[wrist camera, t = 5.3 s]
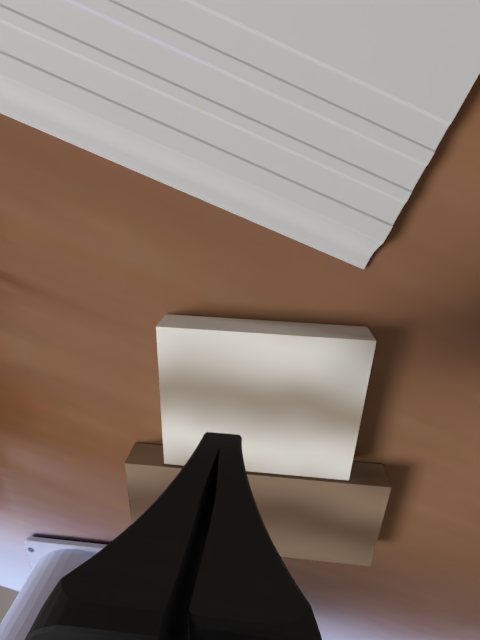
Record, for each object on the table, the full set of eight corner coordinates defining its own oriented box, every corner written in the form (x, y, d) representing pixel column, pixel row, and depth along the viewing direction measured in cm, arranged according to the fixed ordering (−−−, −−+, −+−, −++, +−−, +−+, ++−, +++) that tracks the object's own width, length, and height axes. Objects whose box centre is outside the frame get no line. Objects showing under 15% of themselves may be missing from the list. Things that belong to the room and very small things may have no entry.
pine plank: (342, 457, 22) (348, 480, 20) (172, 442, 23) (164, 463, 21) (366, 326, 19) (376, 340, 17) (166, 313, 20) (155, 326, 18)
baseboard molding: (345, 289, 19) (488, 31, 14) (358, 308, 16) (538, -3, 12) (-247, 38, 16) (-298, -363, 12) (-349, 10, 14) (-461, -518, 9)
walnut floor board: (363, 540, 25) (370, 566, 23) (142, 517, 26) (133, 541, 24) (382, 464, 22) (391, 487, 20) (135, 442, 23) (124, 463, 21)
